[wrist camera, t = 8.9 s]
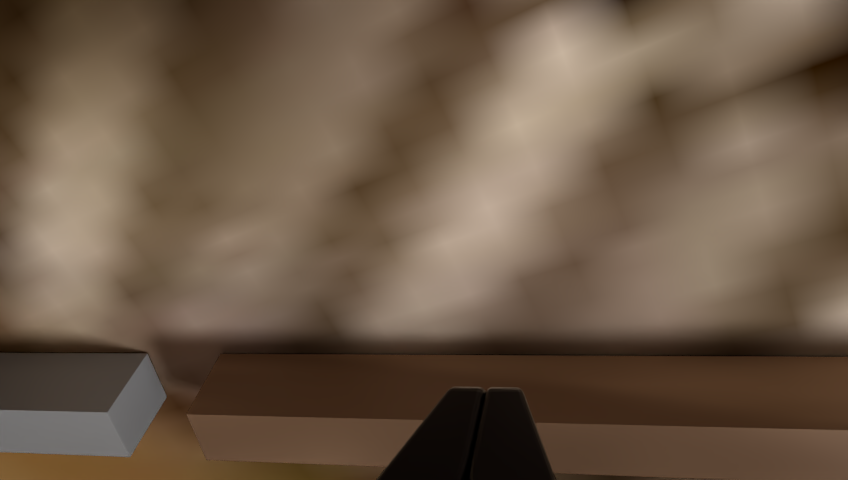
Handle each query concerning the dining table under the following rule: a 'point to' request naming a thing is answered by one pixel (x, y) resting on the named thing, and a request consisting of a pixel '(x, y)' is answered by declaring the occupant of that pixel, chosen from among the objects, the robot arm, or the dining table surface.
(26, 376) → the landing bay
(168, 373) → the dining table surface
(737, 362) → the pair of brown bars
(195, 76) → the dining table surface
